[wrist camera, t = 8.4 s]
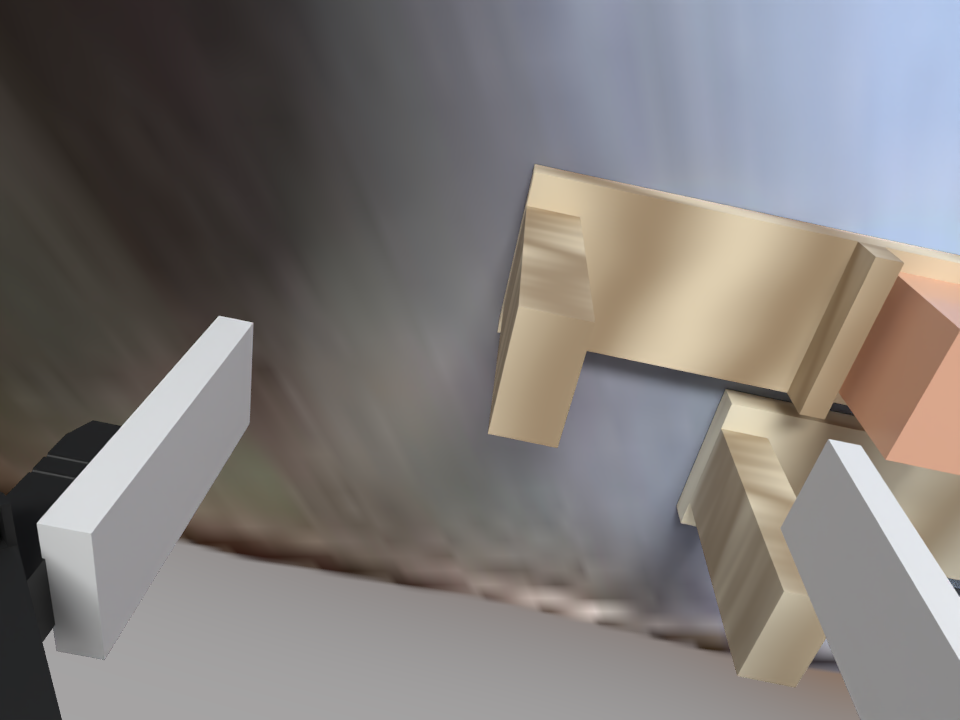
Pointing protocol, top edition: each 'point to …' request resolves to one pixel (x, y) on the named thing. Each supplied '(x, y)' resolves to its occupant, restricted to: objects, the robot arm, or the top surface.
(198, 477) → the robot arm
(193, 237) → the top surface
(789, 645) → the strip
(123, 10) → the top surface
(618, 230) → the strip
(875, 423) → the cube
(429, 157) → the top surface
